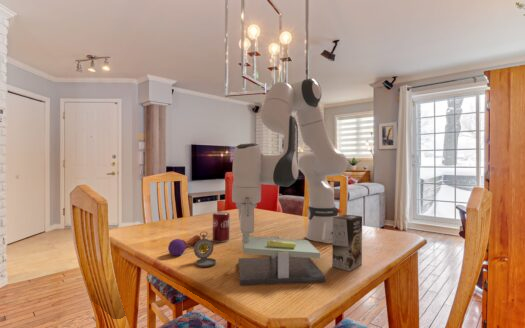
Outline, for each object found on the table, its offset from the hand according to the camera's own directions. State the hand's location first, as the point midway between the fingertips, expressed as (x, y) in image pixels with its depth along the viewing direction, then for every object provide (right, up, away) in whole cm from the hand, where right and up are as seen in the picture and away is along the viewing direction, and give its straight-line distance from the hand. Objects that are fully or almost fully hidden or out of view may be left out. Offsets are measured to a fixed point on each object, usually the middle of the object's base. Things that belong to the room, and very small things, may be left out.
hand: (245, 241), depth 86 cm
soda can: (-13, -10, +37) cm, 40 cm away
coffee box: (+33, -10, +7) cm, 35 cm away
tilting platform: (+10, -3, +1) cm, 10 cm away
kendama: (-25, -10, +24) cm, 36 cm away
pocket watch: (-14, -10, +9) cm, 19 cm away
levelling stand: (+10, -10, +1) cm, 14 cm away
